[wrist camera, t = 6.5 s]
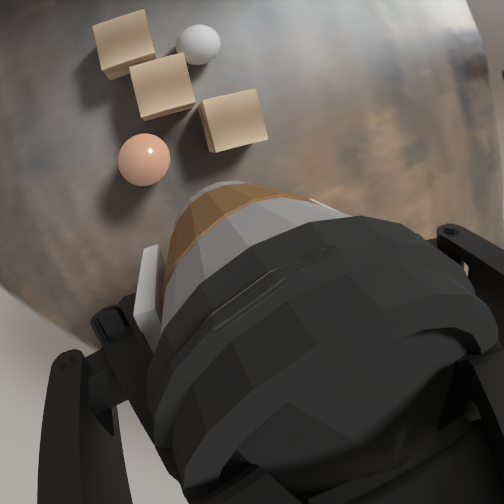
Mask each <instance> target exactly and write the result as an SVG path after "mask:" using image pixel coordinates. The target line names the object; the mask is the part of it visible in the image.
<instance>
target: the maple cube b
mask: <svg viewBox="0 0 504 504" xmlns="http://www.w3.org/2000/svg"><path fill="white" fill-rule="evenodd" d="M129 69H130V73H131V78H132V82H133V87H134V91H135V95H136V99H137V103H138V108H139V112H140V116H141V118H142V119H143V120H144V121H145V122H146V121H149V120H152V119H156V118H159V117H162V116H166V115H169V114H173V113H176V112H180V111H184V110H188V109H191V108H192V107H193V106H194V104H195V102H196V101H195V97H194V93H193V89H192V85H191V81H190V77H189V73H188V68H187V64H186V60H185V56H184V52H183V53H178V54H174V55H170V56H166V57H163V58H159V59H155V60H151V61H148V62H144V63H141V64H138V65H134V66H131V67H129Z"/></svg>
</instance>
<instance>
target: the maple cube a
mask: <svg viewBox="0 0 504 504" xmlns="http://www.w3.org/2000/svg"><path fill="white" fill-rule="evenodd" d="M93 31H94V36H95V41H96V46H97V51H98V56H99V61H100V65H101V70H102V71H103V72H104V74H105V75H106V76H107V77H108V78H109V79H110V81H111V80H114V79H117V78H120V77H122V76H125V75H128V74H131V73H130V69H129V67H131V66H134V65H138V64H141V63H144V62H148V61H151V60H155V59H156V57H155V51H154V47H153V43H152V38H151V34H150V30H149V26H148V22H147V18H146V13H145V9H142V10H139V11H135V12H132V13H129V14H125V15H122V16H119V17H116V18H113V19H110V20H107V21H104V22H102V23H99V24H96V25H94V26H93Z"/></svg>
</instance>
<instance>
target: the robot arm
mask: <svg viewBox="0 0 504 504" xmlns="http://www.w3.org/2000/svg"><path fill="white" fill-rule="evenodd" d="M310 200H312V201H314V202H316V203H318V204H320V205H322V206H324V207H326V208H329V209H332V210H335V209H333V208H330V207H328V206H326V205H324V204H322V203H320V202H318V201H316V200H313V199H310ZM335 211H337V210H335ZM338 212H339V211H338ZM416 234H417V233H416ZM417 235H419V234H417ZM419 236H420V235H419ZM420 237H422V236H420ZM426 241H428V242H429V243H430V244H431V245H432V246H434V247H435V248H437V249H438V250H440V251H441V252H443V253H444V254H445V255H447V256H448V257H450V258H451V259H452V260H454V261H455V262H457V263H458V264H459V265H461V266H462V267H463V269H464V262H465V263H466V264H467V265H468V267H469V271H468V279H469V280H470V282H471V284H472V286H473V288H474V290H475V295H476V296H477V297H478V298H479V299H480V300H481V301H483V302H484V303H485V304H486V305H487V306H489V307H490V310H491V312H492V314H493V316H494V319H495V321H496V324H497V326H498V342H497V343H496V344H494V345H493V346H492V347H491V348H489V349H488V350H487V351H485V352H484V353H482V354H478V353H474V352H471V351H470V352H468V353H467V354H466V355H464V356H463V357H461V358H460V359H458V360H457V362H456V366H455V370H454V373H453V377H452V381H451V385H450V388H449V392H448V395H447V398H446V402H445V405H444V408H443V411H442V414H441V417H440V420H439V423H438V432H437V433H435V434H434V435H432V436H431V437H430V438H429V439H428V440H427V441H426V442H425V443H424V444H423V445H422V446H421V447H420V448H419V449H418V450H417V451H416V452H415V453H414V454H413V455H412V456H411V457H410V458H409V459H408V460H407V461H406V462H405V463H404V464H403V465H402V466H400V467H398V468H396V469H393V470H389V471H386V472H382V473H379V474H375V475H371V476H368V477H364V478H360V479H356V480H352V481H349V482H347V483H345V484H343V485H341V486H338V487H336V488H334V489H331V490H329V491H327V492H324V493H322V494H319V495H317V496H314V497H312V498H309V499H308V503H309V504H504V250H503V249H501V248H499V247H497V246H496V245H494V244H492V243H491V242H489V241H487V240H485V239H484V238H482V237H480V236H478V235H477V234H475V233H473V232H471V231H469V230H467V229H466V228H464V227H462V226H459V225H455V224H446V225H442V226H439V227H438V228H437V238H435V239H429V240H426ZM165 271H166V266H165V263H164V260H163V257H162V255H161V252H160V249H159V246H158V244H157V245H154V246H151V247H148V248H145V249H144V251H143V257H142V262H141V268H140V274H139V280H138V286H137V293H134V294H131V295H128V296H125V297H123V299H122V300H121V301H120V302H119V304H118V305H112V306H109V307H106V308H104V309H102V310H100V311H99V312H97V313H96V314H95V315H94V316H93V317H92V319H91V326H92V328H93V330H94V332H95V334H96V335H97V337H98V339H99V341H100V343H101V345H102V347H103V348H101V349H100V350H98V351H97V352H95V353H93V354H91V355H89V356H87V357H84V355H83V354H82V352H81V351H80V350H76V349H73V350H69V351H66V352H63V353H61V355H59V356H58V357H57V358H56V359H55V361H54V362H53V364H52V367H51V371H50V376H49V382H48V387H47V393H46V400H45V407H44V414H43V421H42V431H41V441H40V451H39V465H38V491H37V494H38V495H37V497H38V499H37V504H133V503H132V498H131V494H130V489H129V483H128V478H127V473H126V467H125V462H124V455H123V449H122V442H121V435H120V428H119V420H118V412H117V406H116V405H118V404H120V403H122V402H124V401H126V400H129V402H130V404H131V406H132V407H133V409H134V411H135V413H136V415H137V416H138V418H139V420H140V422H141V424H142V425H143V427H144V429H145V430H146V432H147V434H148V435H149V437H150V439H151V440H152V442H153V444H154V445H155V442H154V429H153V419H152V417H151V414H150V412H149V410H148V406H147V371H148V368H149V365H150V363H151V360H152V358H153V355H154V352H155V350H156V347H157V345H158V342H159V340H160V334H161V325H162V315H163V312H162V296H163V284H164V278H165ZM156 449H157V450H158V452H159V453H160V455H161V456H162V458H163V460H164V461H165V463H166V464H167V466H168V467H169V469H170V470H171V472H172V473H173V475H174V476H175V477H176V479H177V480H178V482H179V483H180V485H181V486H182V483H181V480H180V476H179V473H178V469H177V465H176V462H175V458H174V454H173V451H172V448H162V447H156ZM182 487H183V486H182ZM184 490H185V492H186V493H187V494H188V496H189V497H190V499H191V500H192V502H193V503H192V504H303V503H301V502H300V501H299V500H298V499H297V498H295V497H294V496H293V495H292V494H291V493H290V492H288V491H287V490H286V489H285V488H284V487H283V486H281V485H280V484H279V483H278V482H277V481H276V480H275V479H274V478H273V477H271V476H270V475H269V474H268V473H267V472H266V471H265V470H264V469H262V468H261V467H260V466H258V465H257V464H251V463H250V462H249V461H248V460H246V459H245V458H244V457H243V456H242V455H241V454H240V453H239V452H238V451H237V450H236V451H235V452H234V453H233V455H232V456H231V457H230V459H229V460H228V461H227V462H226V464H225V465H224V466H223V468H222V470H221V474H220V478H219V481H216V482H212V483H208V484H204V485H200V486H195V487H190V488H186V489H184Z"/></svg>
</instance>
